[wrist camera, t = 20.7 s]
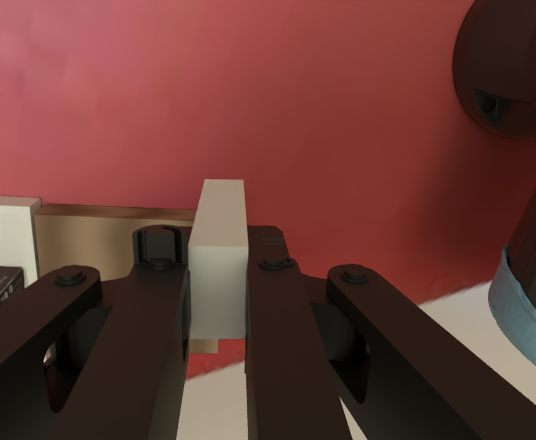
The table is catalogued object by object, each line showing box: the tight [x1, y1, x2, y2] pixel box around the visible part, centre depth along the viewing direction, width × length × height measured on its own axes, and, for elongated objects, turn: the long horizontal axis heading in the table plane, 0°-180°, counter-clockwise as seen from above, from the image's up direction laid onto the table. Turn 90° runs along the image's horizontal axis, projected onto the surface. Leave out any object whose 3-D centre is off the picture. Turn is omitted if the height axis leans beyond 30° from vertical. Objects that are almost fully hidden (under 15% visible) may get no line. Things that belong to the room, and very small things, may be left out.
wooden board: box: [34, 203, 218, 353], centre depth 41 cm, size 16×14×3 cm
